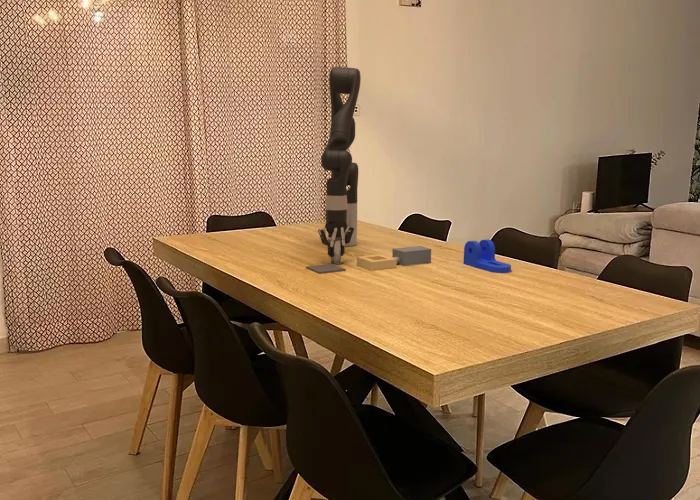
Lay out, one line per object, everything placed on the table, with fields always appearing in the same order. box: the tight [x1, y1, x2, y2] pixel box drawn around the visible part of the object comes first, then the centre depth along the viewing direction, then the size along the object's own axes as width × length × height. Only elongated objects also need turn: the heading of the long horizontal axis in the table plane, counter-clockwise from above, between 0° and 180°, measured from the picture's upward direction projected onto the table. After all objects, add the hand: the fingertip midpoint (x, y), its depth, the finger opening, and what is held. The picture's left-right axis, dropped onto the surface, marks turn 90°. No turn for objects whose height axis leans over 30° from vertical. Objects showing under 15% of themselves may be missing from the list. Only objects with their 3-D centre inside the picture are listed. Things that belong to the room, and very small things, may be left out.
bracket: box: [462, 238, 512, 274], centre depth 244 cm, size 18×8×9 cm, turn 29°
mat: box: [305, 263, 347, 275], centre depth 239 cm, size 10×10×1 cm
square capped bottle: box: [330, 236, 342, 265], centre depth 248 cm, size 3×3×10 cm
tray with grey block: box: [356, 245, 432, 271], centre depth 248 cm, size 26×10×5 cm, turn 121°
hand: (335, 256), depth 249 cm, fingers closed on square capped bottle, 3 cm apart
